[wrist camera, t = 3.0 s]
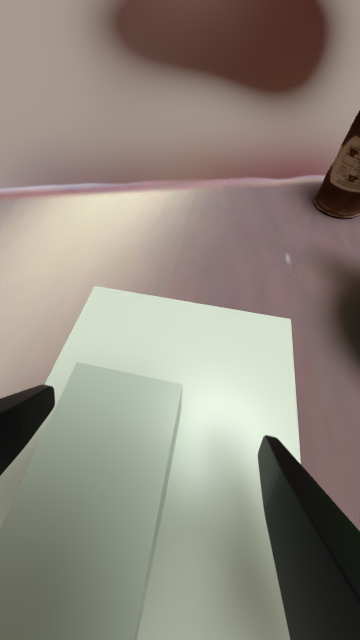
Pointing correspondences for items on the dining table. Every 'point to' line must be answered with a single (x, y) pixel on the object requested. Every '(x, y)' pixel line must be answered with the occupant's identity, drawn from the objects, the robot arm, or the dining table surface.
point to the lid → (150, 478)
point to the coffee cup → (343, 178)
